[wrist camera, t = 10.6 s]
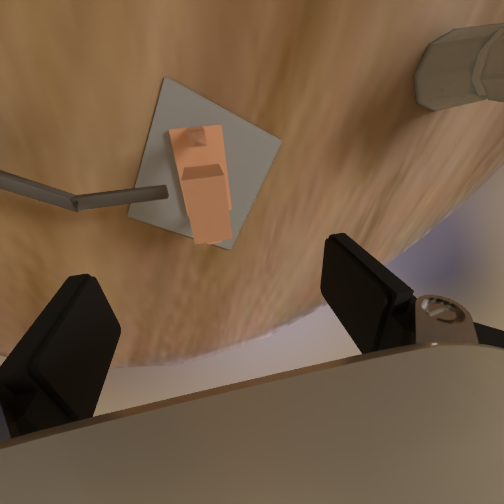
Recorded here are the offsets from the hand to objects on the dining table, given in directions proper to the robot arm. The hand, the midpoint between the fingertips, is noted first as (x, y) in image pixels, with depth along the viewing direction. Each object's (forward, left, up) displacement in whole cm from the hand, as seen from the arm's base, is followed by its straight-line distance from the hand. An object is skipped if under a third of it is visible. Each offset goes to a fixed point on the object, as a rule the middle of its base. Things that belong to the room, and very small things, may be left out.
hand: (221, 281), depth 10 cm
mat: (+1, 0, -25) cm, 25 cm away
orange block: (0, 0, -25) cm, 25 cm away
